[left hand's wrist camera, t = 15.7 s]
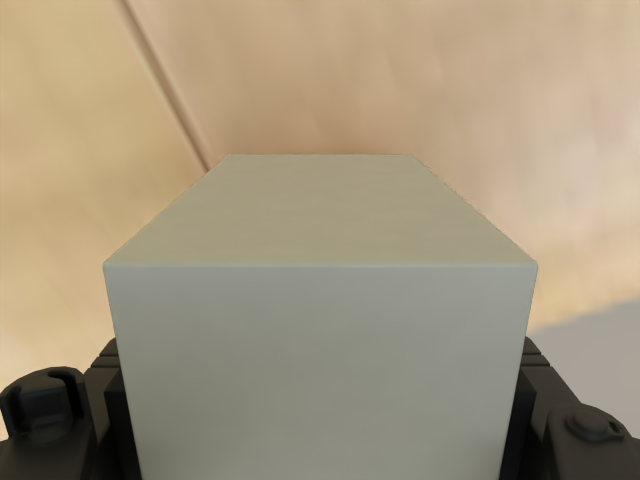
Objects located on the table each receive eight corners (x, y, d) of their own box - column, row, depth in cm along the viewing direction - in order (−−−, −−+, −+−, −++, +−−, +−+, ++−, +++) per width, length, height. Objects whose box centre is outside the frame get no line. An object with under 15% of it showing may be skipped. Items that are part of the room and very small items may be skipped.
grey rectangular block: (242, 369, 18) (171, 643, 9) (227, 153, 15) (98, 263, 6) (397, 369, 18) (469, 643, 9) (412, 153, 15) (541, 263, 6)
